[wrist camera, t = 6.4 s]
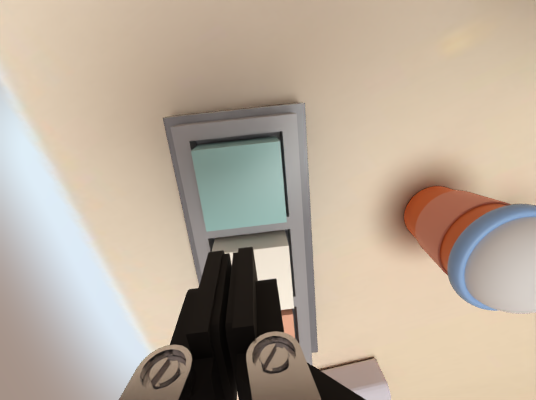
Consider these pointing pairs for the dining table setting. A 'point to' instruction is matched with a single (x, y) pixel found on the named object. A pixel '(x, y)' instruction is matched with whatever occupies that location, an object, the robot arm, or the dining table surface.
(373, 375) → the charger
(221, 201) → the teal key
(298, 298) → the keypad
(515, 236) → the cup with straw
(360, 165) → the dining table surface
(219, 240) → the cream key
